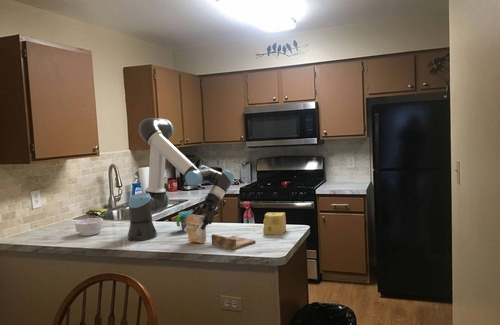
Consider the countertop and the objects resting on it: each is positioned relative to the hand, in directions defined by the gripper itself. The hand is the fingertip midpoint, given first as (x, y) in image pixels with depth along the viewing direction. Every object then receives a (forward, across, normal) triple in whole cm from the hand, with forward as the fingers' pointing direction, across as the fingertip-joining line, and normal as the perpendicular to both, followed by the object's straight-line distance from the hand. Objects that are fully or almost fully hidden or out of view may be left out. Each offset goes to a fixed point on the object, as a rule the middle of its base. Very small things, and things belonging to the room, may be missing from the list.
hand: (191, 233), depth 197 cm
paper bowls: (+20, +70, +11) cm, 73 cm away
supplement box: (+1, 0, -6) cm, 6 cm away
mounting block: (-5, -17, -12) cm, 22 cm away
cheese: (-25, -19, -32) cm, 45 cm away
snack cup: (-8, +27, -16) cm, 32 cm away
